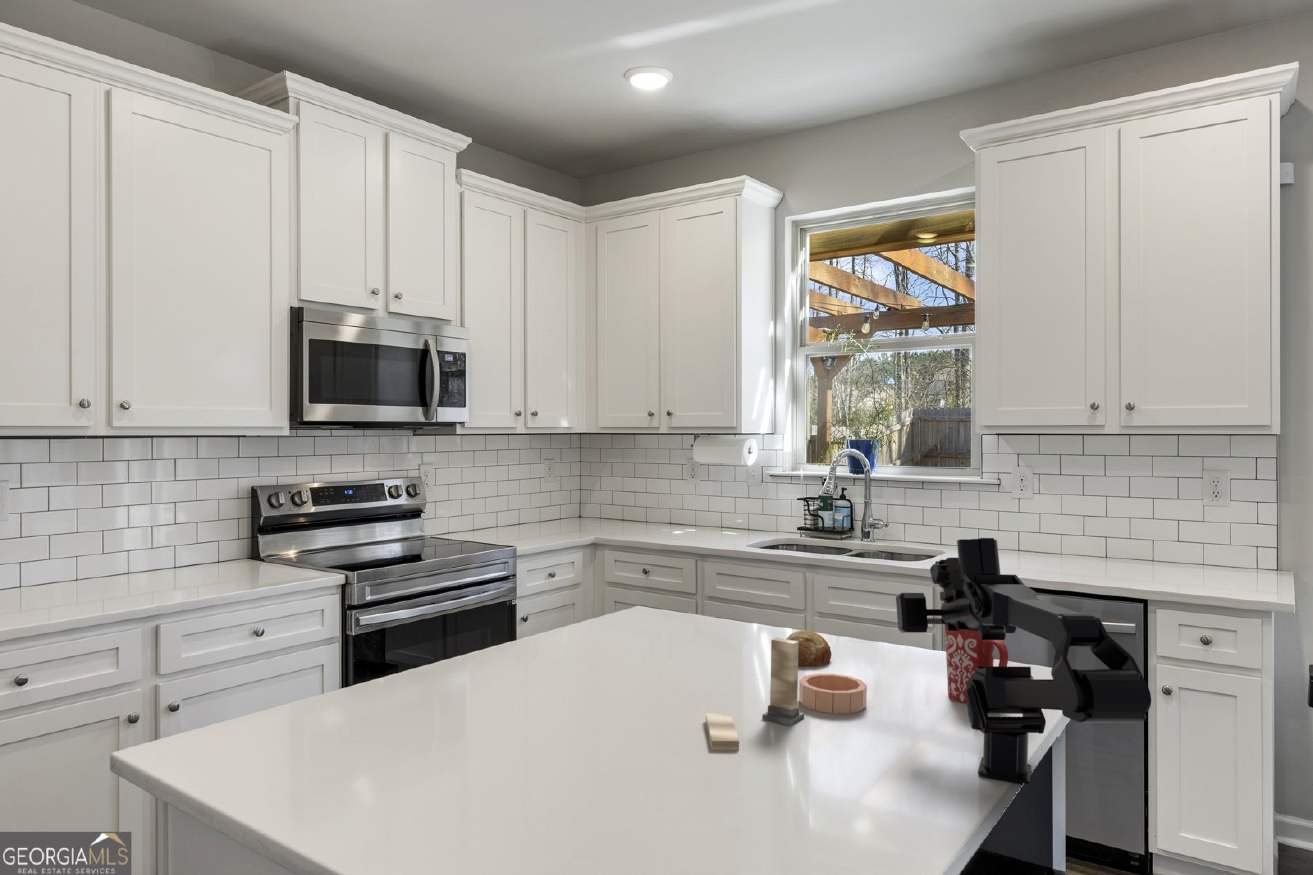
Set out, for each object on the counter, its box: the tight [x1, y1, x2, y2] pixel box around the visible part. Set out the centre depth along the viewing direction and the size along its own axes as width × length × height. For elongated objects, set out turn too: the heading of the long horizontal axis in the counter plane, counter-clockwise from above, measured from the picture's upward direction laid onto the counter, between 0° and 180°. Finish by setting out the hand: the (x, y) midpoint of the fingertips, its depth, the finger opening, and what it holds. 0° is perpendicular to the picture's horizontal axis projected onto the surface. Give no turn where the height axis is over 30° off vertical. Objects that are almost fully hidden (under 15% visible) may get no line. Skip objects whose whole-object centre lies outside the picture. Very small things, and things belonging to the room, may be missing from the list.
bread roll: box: [786, 630, 832, 668], centre depth 174 cm, size 10×10×8 cm
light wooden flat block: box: [705, 712, 740, 751], centre depth 129 cm, size 12×4×2 cm, turn 1°
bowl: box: [798, 673, 868, 715], centre depth 146 cm, size 11×11×4 cm
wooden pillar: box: [761, 637, 805, 727], centre depth 137 cm, size 5×5×13 cm
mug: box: [943, 624, 1009, 704], centre depth 149 cm, size 13×9×14 cm
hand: (937, 616), depth 142 cm, fingers open, 9 cm apart
